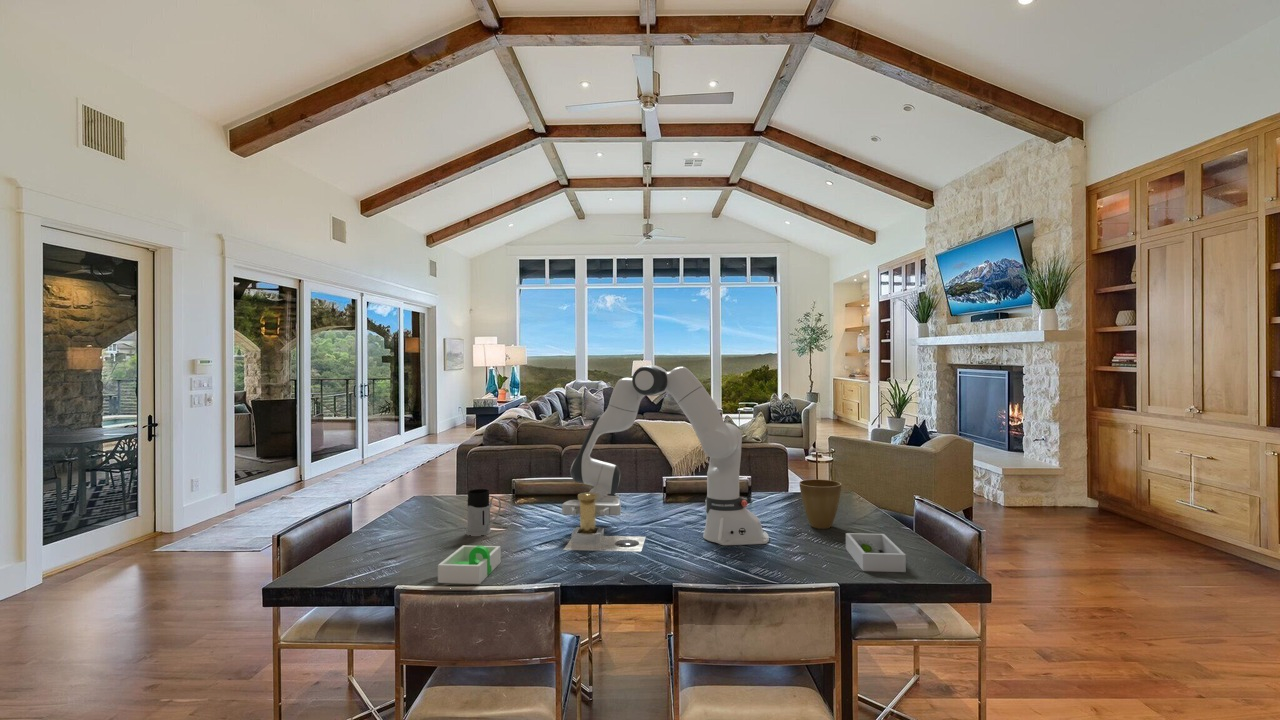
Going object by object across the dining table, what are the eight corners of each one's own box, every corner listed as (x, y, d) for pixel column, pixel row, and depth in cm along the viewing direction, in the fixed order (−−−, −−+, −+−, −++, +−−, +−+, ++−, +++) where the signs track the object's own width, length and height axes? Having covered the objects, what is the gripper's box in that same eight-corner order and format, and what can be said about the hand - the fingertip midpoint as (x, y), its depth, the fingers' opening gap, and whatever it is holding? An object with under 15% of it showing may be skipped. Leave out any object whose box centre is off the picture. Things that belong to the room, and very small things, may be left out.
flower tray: (884, 549, 196) (883, 533, 196) (905, 572, 175) (905, 554, 175) (845, 548, 197) (845, 533, 197) (862, 571, 177) (862, 553, 177)
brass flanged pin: (599, 539, 204) (598, 492, 204) (595, 545, 198) (595, 496, 198) (580, 539, 205) (579, 492, 205) (576, 545, 199) (576, 496, 199)
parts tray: (500, 562, 187) (500, 546, 187) (479, 584, 169) (479, 566, 169) (463, 561, 188) (462, 545, 188) (437, 582, 170) (437, 565, 170)
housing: (645, 541, 208) (645, 525, 208) (641, 556, 192) (641, 538, 192) (573, 539, 210) (573, 523, 210) (563, 554, 194) (563, 537, 194)
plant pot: (846, 524, 226) (845, 481, 226) (835, 534, 214) (835, 488, 214) (806, 518, 234) (806, 477, 234) (794, 528, 222) (793, 484, 222)
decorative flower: (886, 545, 178) (856, 531, 192) (872, 561, 176) (843, 546, 191) (902, 563, 179) (871, 547, 193) (888, 579, 178) (859, 562, 192)
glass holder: (477, 528, 225) (477, 487, 225) (508, 532, 219) (508, 491, 219) (461, 534, 218) (460, 492, 218) (492, 539, 211) (492, 496, 211)
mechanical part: (494, 568, 181) (493, 541, 181) (488, 575, 175) (487, 547, 175) (454, 568, 182) (454, 541, 182) (447, 575, 176) (446, 547, 176)
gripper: (566, 494, 217) (557, 503, 203) (623, 495, 215) (617, 504, 201) (566, 512, 217) (557, 522, 203) (623, 513, 215) (618, 523, 201)
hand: (588, 513), depth 202 cm, fingers open, 8 cm apart
